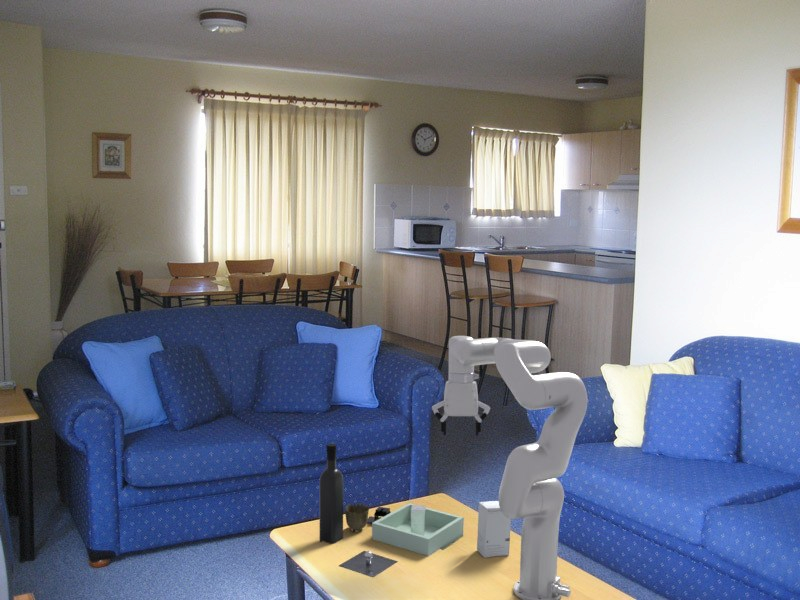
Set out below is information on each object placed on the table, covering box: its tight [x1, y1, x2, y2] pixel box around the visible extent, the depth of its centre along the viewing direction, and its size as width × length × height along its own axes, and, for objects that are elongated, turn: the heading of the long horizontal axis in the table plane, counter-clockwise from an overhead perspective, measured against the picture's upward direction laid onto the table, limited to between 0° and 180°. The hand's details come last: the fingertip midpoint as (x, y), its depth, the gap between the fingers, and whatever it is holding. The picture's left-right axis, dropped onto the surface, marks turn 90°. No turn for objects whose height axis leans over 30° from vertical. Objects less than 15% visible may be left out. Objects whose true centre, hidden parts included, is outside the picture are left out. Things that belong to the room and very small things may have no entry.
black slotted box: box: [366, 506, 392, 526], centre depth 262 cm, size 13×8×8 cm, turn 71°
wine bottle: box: [318, 443, 344, 544], centre depth 245 cm, size 6×6×30 cm
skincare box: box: [476, 500, 512, 559], centre depth 240 cm, size 8×6×15 cm
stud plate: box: [338, 550, 399, 578], centre depth 230 cm, size 12×12×5 cm
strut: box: [411, 504, 426, 536], centre depth 249 cm, size 4×4×9 cm
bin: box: [371, 502, 465, 557], centre depth 249 cm, size 20×20×6 cm
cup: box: [344, 503, 370, 533], centre depth 253 cm, size 8×7×8 cm
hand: (460, 434), depth 245 cm, fingers open, 9 cm apart
